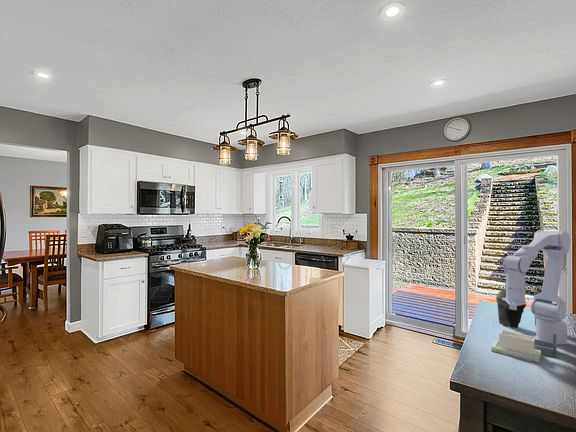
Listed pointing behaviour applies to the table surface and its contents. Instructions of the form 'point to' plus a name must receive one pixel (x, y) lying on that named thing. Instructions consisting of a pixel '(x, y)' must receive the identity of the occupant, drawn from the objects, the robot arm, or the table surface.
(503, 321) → the beverage cup
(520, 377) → the table surface
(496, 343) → the tray
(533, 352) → the box
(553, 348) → the bay
